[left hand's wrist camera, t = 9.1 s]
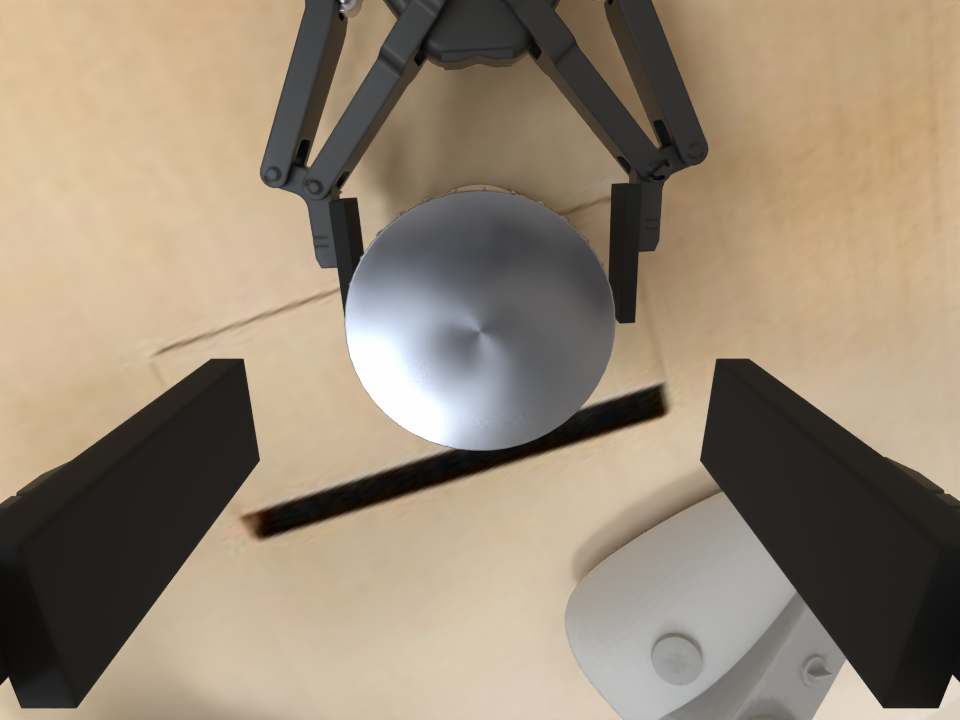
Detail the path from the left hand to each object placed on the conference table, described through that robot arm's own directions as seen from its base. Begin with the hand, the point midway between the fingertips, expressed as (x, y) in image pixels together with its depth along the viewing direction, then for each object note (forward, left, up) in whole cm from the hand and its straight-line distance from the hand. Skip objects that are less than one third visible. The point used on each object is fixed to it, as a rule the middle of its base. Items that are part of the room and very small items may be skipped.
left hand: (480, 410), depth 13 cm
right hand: (-2, -1, -15) cm, 15 cm away
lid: (0, 0, -7) cm, 7 cm away
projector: (-17, -24, -22) cm, 37 cm away
